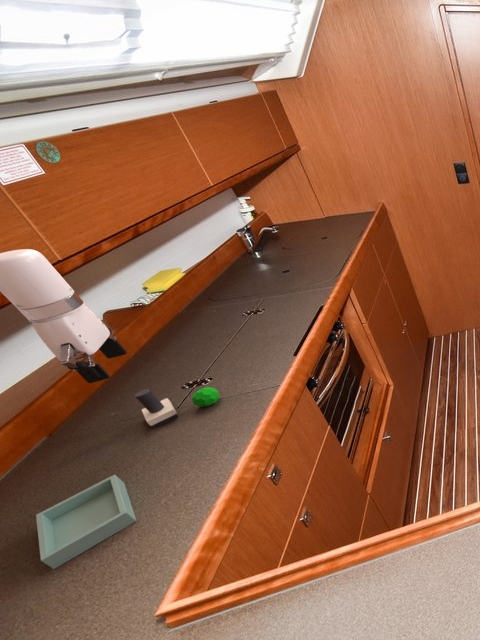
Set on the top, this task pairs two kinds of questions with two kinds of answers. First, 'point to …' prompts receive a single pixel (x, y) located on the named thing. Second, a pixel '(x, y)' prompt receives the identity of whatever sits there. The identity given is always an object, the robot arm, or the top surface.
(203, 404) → the polyhedron
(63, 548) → the tray
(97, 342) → the robot arm
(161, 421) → the brush
